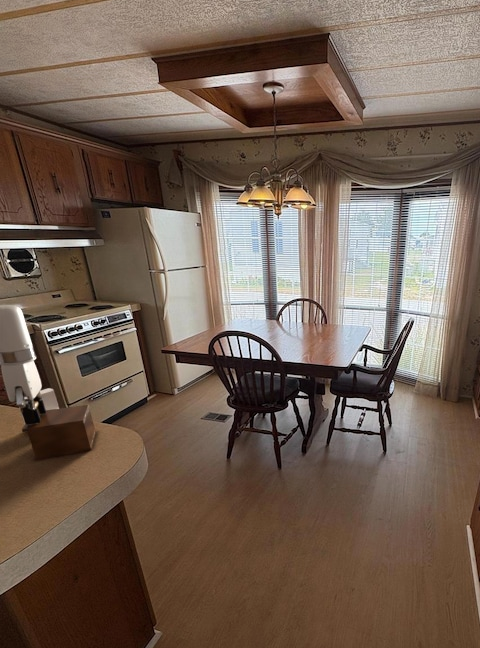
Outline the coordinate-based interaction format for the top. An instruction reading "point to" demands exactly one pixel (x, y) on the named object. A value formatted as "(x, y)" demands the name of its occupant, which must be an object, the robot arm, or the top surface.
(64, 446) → the compartment
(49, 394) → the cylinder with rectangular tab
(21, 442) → the top surface
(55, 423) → the compartment lid
